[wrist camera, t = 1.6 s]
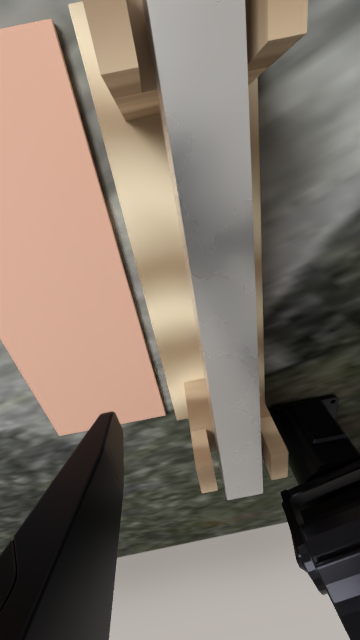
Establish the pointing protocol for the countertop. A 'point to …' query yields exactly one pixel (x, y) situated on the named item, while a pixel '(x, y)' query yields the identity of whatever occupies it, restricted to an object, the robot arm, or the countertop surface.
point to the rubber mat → (62, 250)
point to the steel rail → (214, 210)
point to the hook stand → (158, 197)
